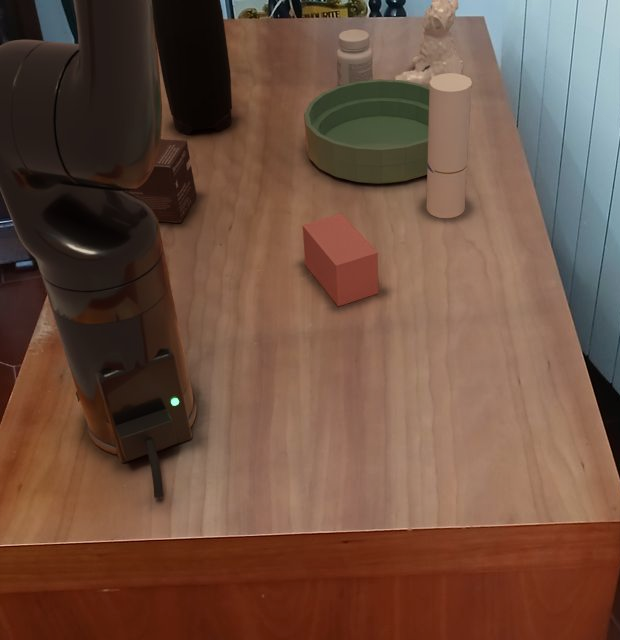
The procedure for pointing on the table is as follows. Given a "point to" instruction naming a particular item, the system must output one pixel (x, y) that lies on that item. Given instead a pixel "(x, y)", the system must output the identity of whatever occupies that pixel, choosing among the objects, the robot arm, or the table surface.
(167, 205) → the box
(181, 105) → the portable speaker
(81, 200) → the robot arm
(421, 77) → the white creature statuette
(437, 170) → the tube
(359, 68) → the pill bottle
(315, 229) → the eraser
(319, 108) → the bowl
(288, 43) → the table surface
